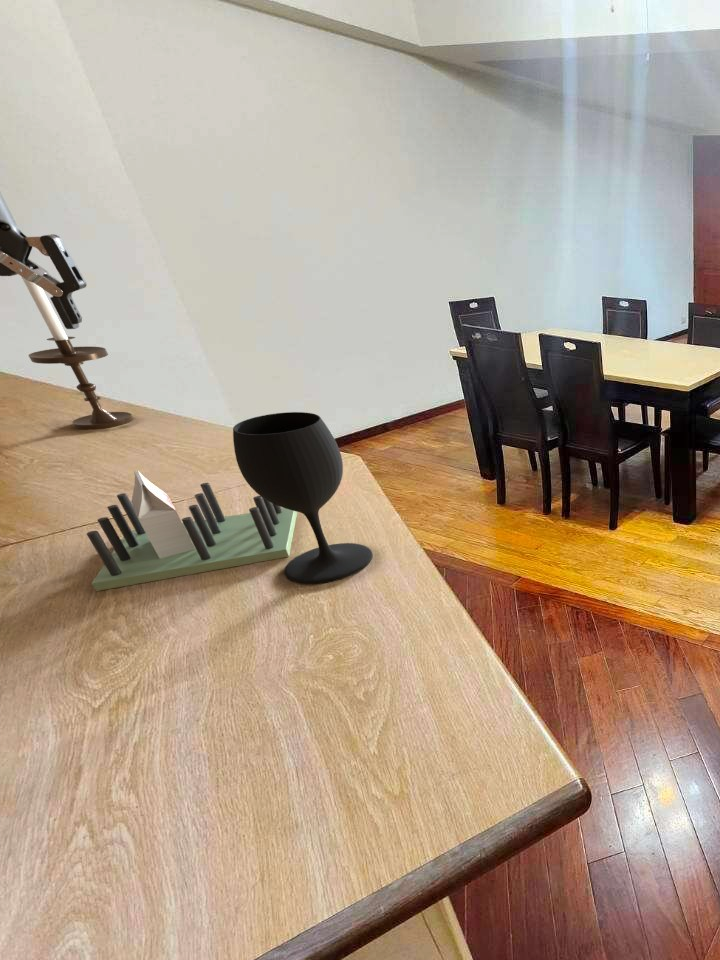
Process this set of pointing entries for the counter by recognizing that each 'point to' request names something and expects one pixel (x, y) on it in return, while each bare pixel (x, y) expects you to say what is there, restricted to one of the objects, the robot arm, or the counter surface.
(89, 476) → the counter surface
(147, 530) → the white milk carton
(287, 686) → the counter surface
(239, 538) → the rack
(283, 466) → the wine glass
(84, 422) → the candlestick
